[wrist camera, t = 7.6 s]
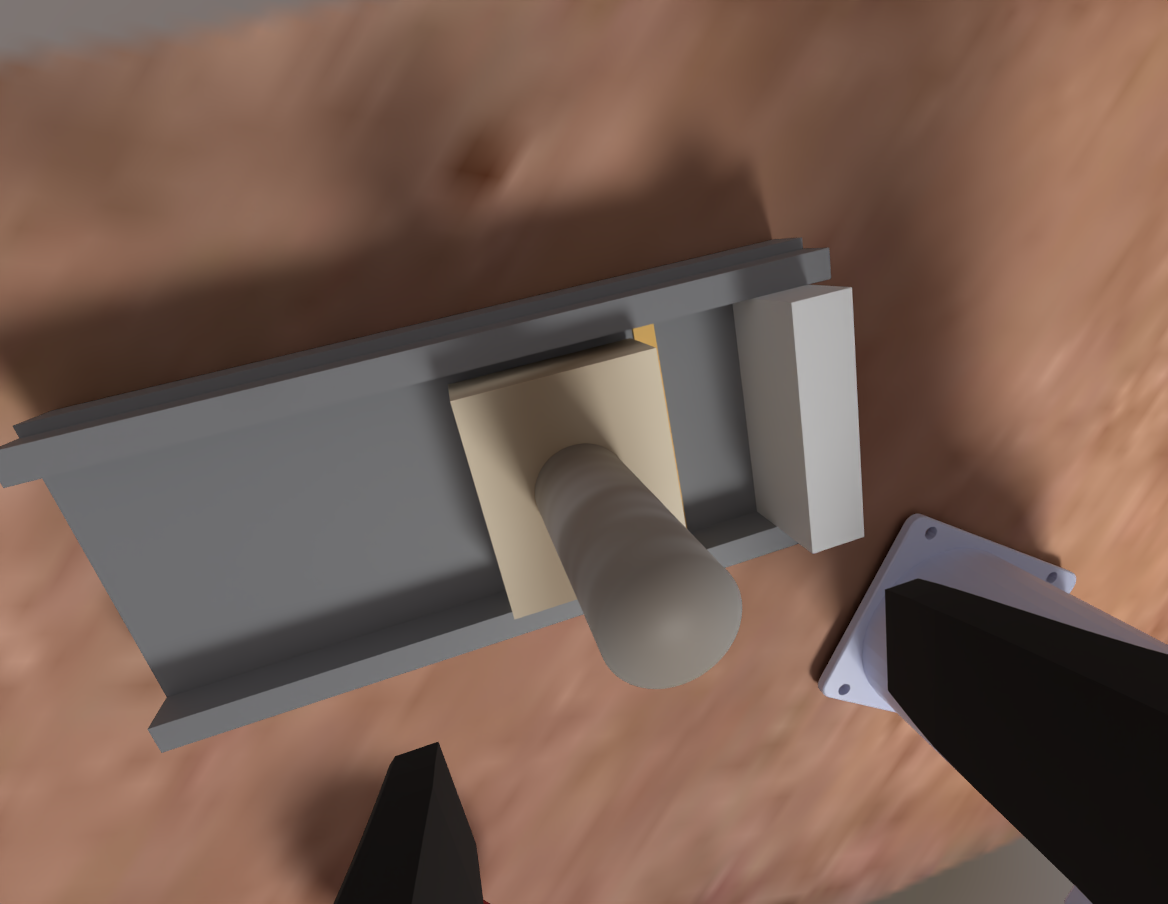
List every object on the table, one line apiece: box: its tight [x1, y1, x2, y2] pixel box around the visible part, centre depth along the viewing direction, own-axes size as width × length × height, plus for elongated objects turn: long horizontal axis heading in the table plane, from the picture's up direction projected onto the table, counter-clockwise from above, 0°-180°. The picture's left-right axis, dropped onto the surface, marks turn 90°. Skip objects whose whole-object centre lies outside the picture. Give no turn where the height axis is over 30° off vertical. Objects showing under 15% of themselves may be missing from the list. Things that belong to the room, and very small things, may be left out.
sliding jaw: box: [448, 338, 742, 689], centre depth 13 cm, size 5×6×8 cm
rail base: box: [0, 238, 864, 753], centre depth 16 cm, size 20×9×4 cm, turn 103°
